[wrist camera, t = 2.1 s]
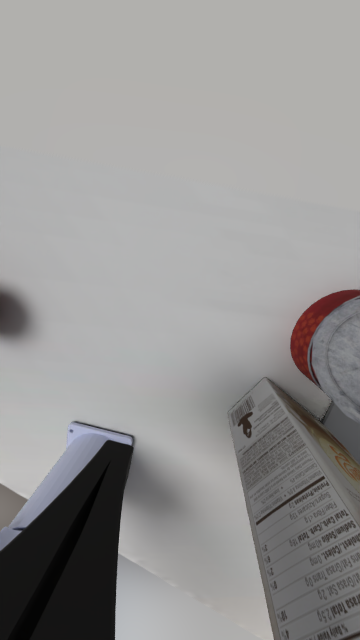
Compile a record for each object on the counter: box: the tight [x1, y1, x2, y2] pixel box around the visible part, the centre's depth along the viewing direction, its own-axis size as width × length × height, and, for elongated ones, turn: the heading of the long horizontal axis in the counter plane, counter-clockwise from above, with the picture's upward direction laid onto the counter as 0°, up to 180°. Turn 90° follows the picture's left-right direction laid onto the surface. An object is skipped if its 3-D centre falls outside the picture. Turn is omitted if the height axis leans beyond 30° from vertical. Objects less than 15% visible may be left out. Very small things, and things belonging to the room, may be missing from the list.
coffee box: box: [228, 378, 360, 640], centre depth 11 cm, size 9×6×16 cm
